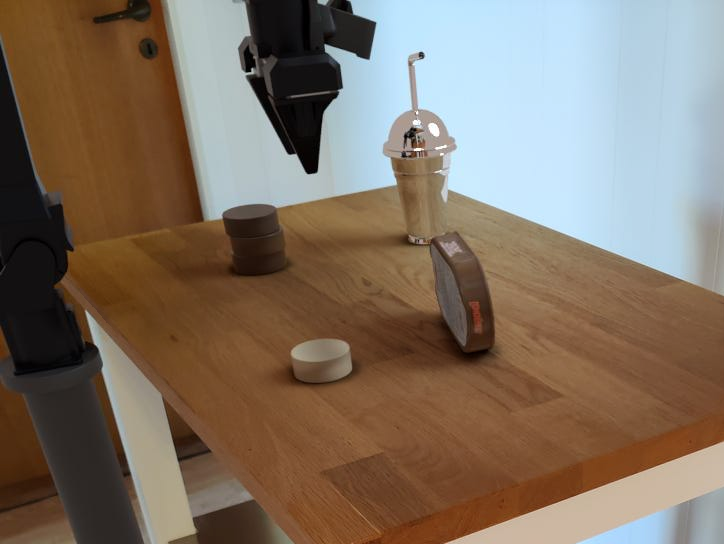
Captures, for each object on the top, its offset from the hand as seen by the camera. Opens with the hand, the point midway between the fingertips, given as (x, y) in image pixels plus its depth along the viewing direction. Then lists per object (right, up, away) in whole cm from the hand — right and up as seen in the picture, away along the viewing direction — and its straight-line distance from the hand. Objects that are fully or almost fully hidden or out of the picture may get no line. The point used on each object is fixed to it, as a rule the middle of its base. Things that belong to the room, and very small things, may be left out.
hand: (302, 163), depth 97 cm
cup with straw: (+11, +1, +21) cm, 24 cm away
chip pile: (-8, -4, +17) cm, 19 cm away
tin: (+16, -18, -3) cm, 24 cm away
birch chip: (+3, -23, -8) cm, 24 cm away
